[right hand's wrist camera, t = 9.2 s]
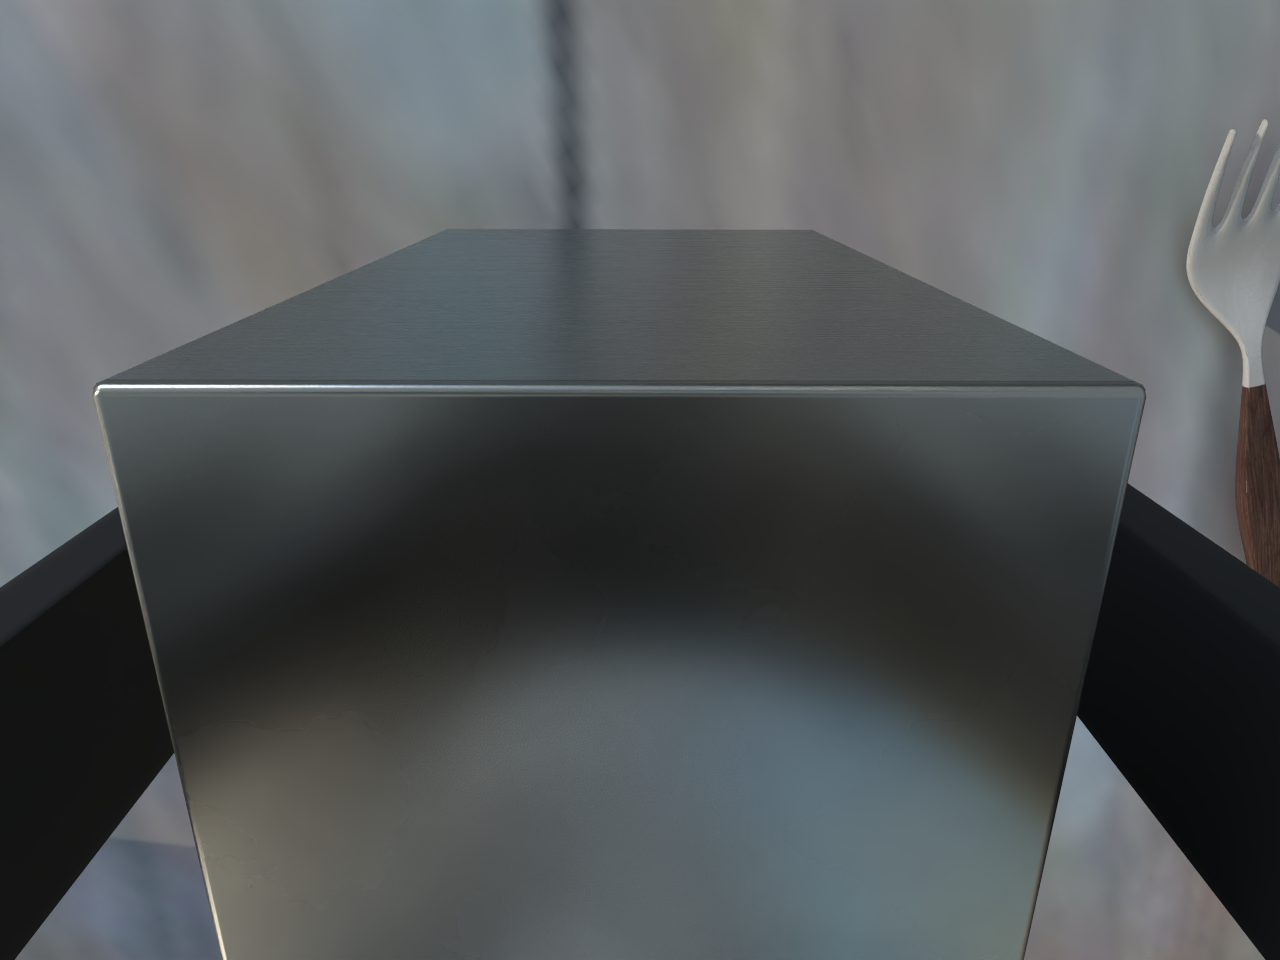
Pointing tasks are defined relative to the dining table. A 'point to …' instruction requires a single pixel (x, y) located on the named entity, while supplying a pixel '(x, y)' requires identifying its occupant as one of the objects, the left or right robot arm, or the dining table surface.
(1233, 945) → the dining table surface
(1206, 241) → the fork
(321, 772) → the bar
